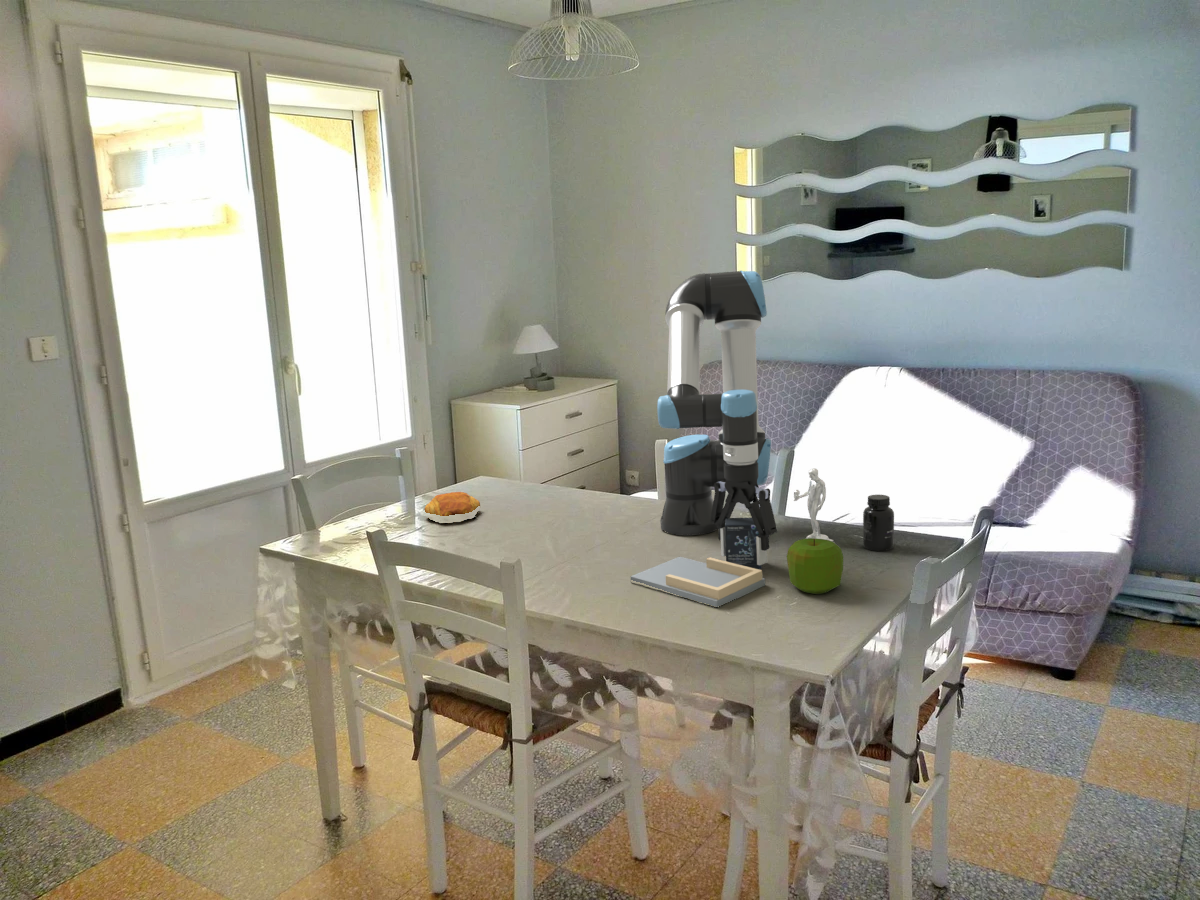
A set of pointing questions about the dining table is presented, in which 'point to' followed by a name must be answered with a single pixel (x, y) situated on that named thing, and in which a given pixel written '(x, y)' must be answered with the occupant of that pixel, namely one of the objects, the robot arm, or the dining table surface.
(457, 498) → the croissant
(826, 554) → the apple
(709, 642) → the dining table surface
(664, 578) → the dock
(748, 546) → the box
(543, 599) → the dining table surface
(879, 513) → the supplement bottle
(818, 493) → the figurine
